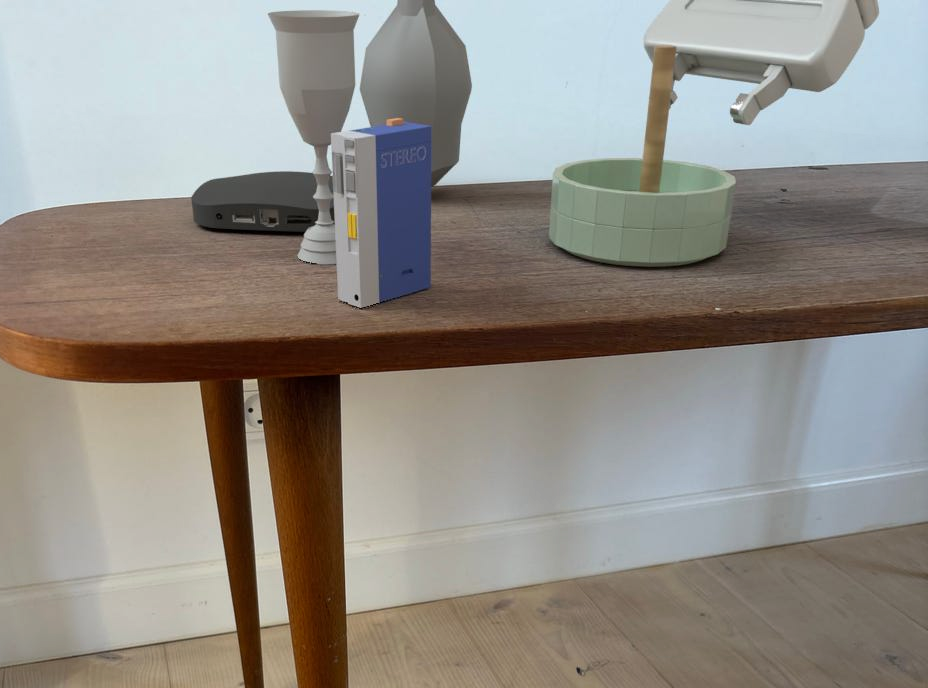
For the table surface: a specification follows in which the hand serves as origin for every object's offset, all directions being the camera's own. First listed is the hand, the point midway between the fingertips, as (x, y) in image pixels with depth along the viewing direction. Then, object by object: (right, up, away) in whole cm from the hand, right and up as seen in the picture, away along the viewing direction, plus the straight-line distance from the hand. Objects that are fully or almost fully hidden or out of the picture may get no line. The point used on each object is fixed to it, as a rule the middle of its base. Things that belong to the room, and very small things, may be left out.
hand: (696, 112), depth 93 cm
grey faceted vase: (-25, 0, +18) cm, 31 cm away
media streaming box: (-38, -6, +9) cm, 40 cm away
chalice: (-32, -14, -2) cm, 35 cm away
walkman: (-27, -20, -11) cm, 35 cm away
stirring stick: (-4, -9, +3) cm, 11 cm away
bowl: (-5, -11, +2) cm, 12 cm away
